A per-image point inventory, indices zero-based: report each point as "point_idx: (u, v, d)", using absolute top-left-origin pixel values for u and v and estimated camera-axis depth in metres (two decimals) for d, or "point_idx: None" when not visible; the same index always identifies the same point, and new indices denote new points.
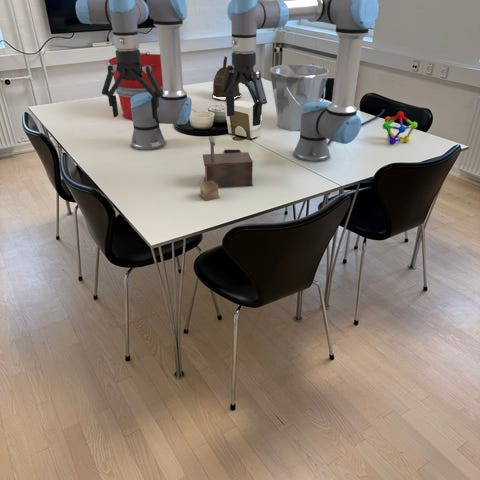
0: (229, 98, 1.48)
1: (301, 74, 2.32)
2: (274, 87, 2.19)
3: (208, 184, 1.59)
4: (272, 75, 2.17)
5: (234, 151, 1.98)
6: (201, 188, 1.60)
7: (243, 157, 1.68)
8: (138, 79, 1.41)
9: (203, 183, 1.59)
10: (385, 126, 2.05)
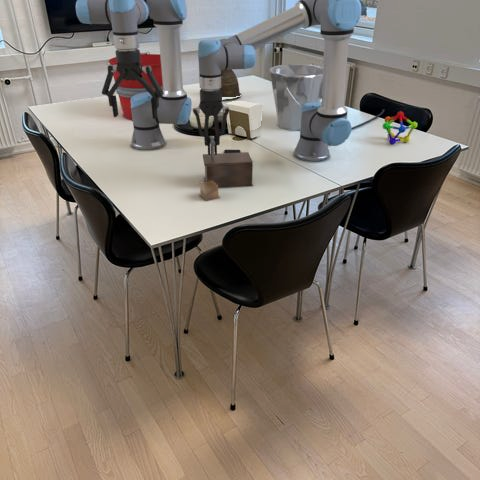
0: (209, 138, 1.62)
1: (301, 74, 2.32)
2: (274, 87, 2.19)
3: (208, 184, 1.59)
4: (272, 75, 2.17)
5: (234, 151, 1.98)
6: (201, 188, 1.60)
7: (243, 157, 1.68)
8: (138, 79, 1.41)
9: (203, 183, 1.59)
10: (385, 126, 2.05)
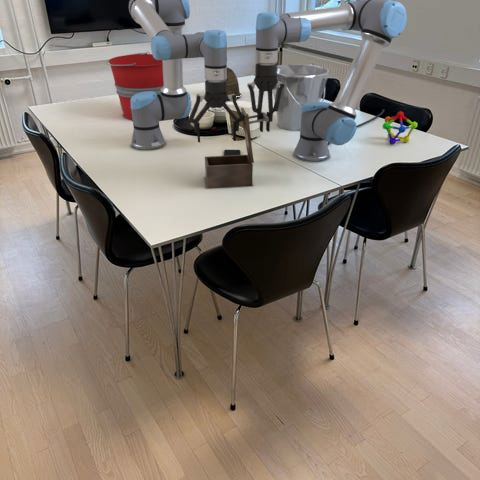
0: None
1: (301, 74, 2.32)
2: (274, 87, 2.19)
3: None
4: None
5: (234, 151, 1.98)
6: None
7: None
8: (225, 106, 1.55)
9: None
10: (385, 126, 2.05)
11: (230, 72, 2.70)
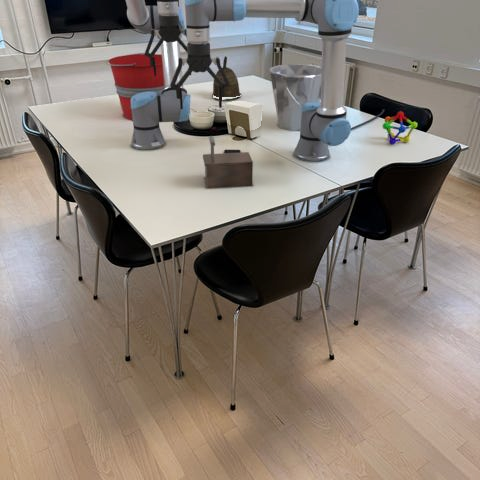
0: (181, 91, 1.51)
1: (301, 74, 2.32)
2: (274, 87, 2.19)
3: None
4: (272, 75, 2.17)
5: (234, 151, 1.98)
6: None
7: (243, 157, 1.68)
8: (178, 40, 1.66)
9: None
10: (385, 126, 2.05)
11: (230, 72, 2.70)
